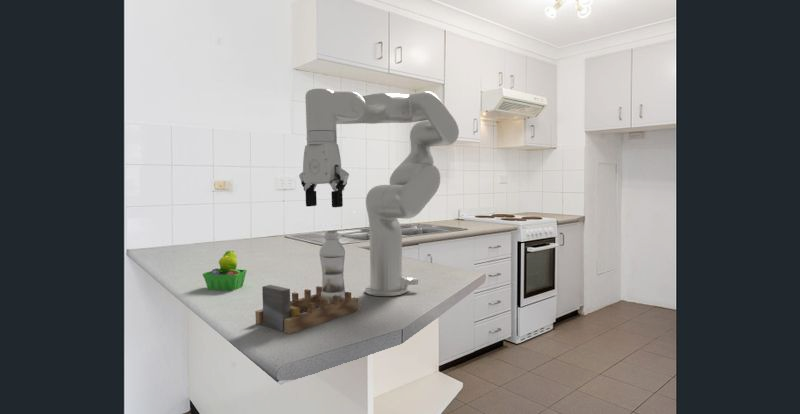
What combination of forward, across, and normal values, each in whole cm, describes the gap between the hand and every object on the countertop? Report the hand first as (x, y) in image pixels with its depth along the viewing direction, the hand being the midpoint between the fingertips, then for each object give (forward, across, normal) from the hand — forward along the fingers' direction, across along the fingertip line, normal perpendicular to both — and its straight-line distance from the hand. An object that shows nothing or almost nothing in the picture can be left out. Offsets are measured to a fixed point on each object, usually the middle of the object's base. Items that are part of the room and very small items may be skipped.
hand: (324, 206), depth 112 cm
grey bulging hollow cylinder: (+27, +2, 0) cm, 27 cm away
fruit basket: (+27, -42, -3) cm, 50 cm away
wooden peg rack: (+26, +2, -8) cm, 28 cm away
